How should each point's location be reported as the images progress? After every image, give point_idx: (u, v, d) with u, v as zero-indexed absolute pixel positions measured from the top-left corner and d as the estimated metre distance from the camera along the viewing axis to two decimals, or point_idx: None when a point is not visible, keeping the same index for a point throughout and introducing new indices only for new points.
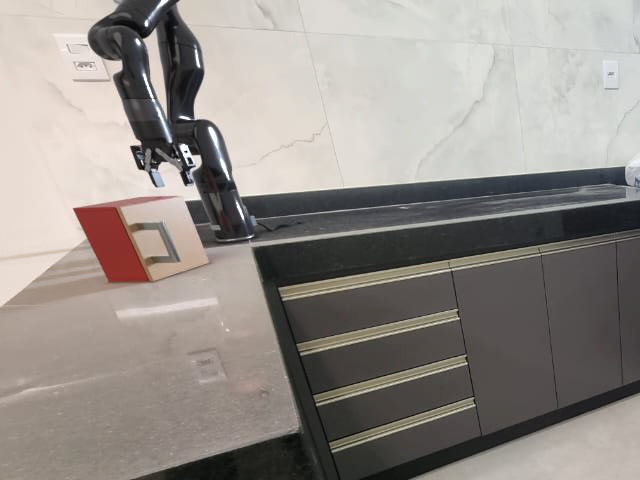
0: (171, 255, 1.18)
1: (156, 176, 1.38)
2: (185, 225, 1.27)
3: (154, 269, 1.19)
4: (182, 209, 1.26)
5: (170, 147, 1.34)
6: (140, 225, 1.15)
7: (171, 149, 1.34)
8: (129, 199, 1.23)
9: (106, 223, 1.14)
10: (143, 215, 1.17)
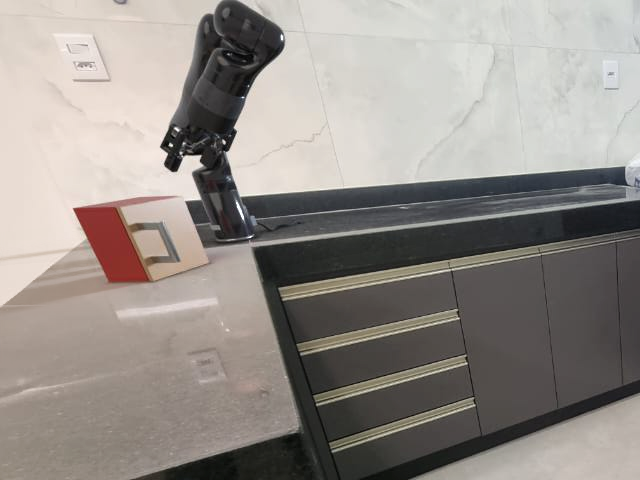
0: (171, 255, 1.18)
1: (208, 155, 1.12)
2: (185, 225, 1.27)
3: (154, 269, 1.19)
4: (182, 209, 1.26)
5: None
6: (140, 225, 1.15)
7: None
8: (129, 199, 1.23)
9: (106, 223, 1.14)
10: (143, 215, 1.17)
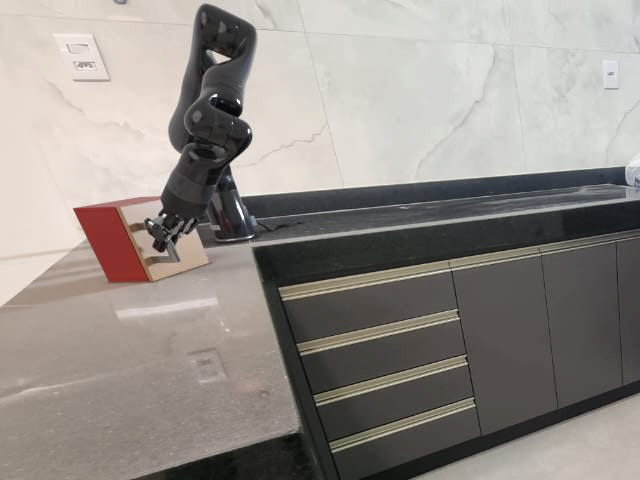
0: (171, 255, 1.18)
1: None
2: None
3: (154, 269, 1.19)
4: None
5: None
6: (140, 225, 1.15)
7: (158, 216, 1.11)
8: (129, 199, 1.23)
9: (106, 223, 1.14)
10: (143, 215, 1.17)
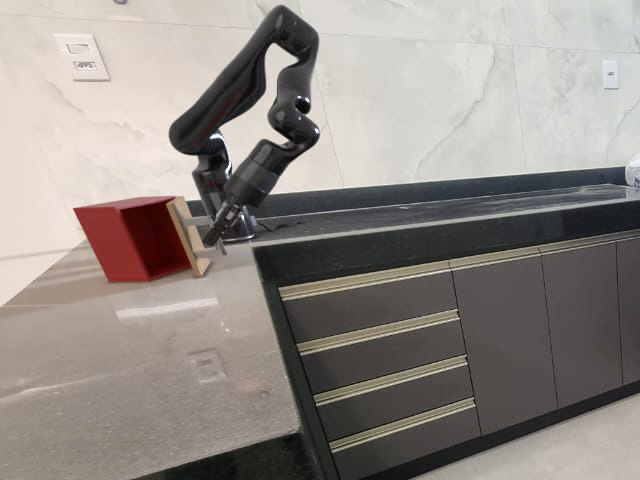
0: (221, 248, 1.23)
1: None
2: None
3: (198, 265, 1.21)
4: (187, 208, 1.26)
5: (231, 205, 1.19)
6: (186, 221, 1.18)
7: (230, 207, 1.19)
8: (129, 199, 1.23)
9: (106, 223, 1.14)
10: (179, 212, 1.19)
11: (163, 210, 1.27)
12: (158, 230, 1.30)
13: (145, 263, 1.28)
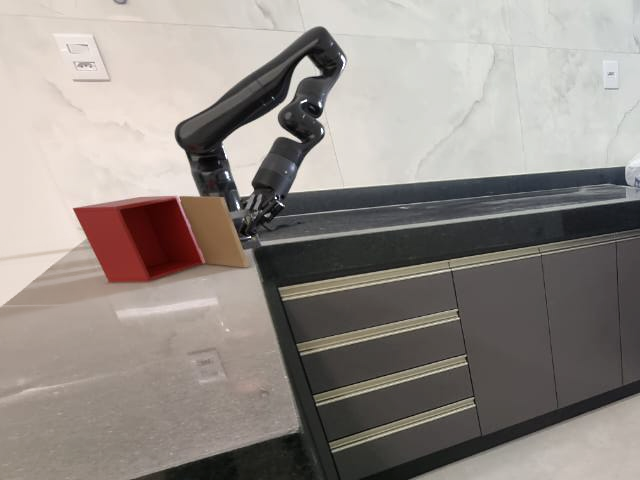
0: (258, 239, 1.30)
1: None
2: None
3: None
4: None
5: (272, 196, 1.30)
6: (230, 214, 1.24)
7: (272, 198, 1.29)
8: (129, 199, 1.23)
9: (106, 223, 1.14)
10: None
11: (163, 210, 1.27)
12: (158, 230, 1.30)
13: (145, 263, 1.28)
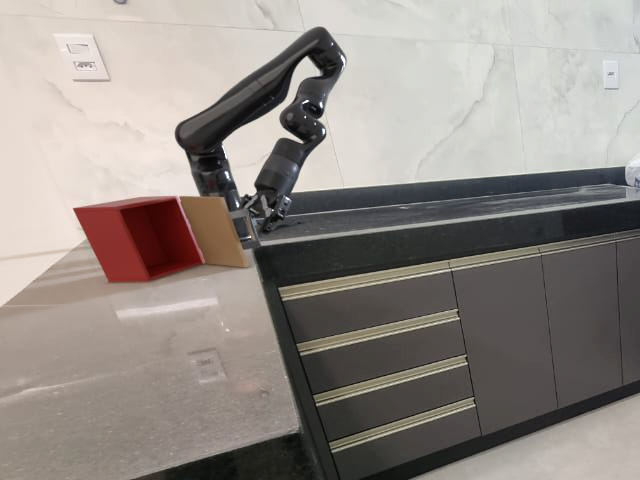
0: (258, 239, 1.30)
1: (244, 222, 1.31)
2: None
3: None
4: None
5: (275, 197, 1.30)
6: (230, 214, 1.24)
7: (274, 199, 1.30)
8: (129, 199, 1.23)
9: (106, 223, 1.14)
10: None
11: (163, 210, 1.27)
12: (158, 230, 1.30)
13: (145, 263, 1.28)
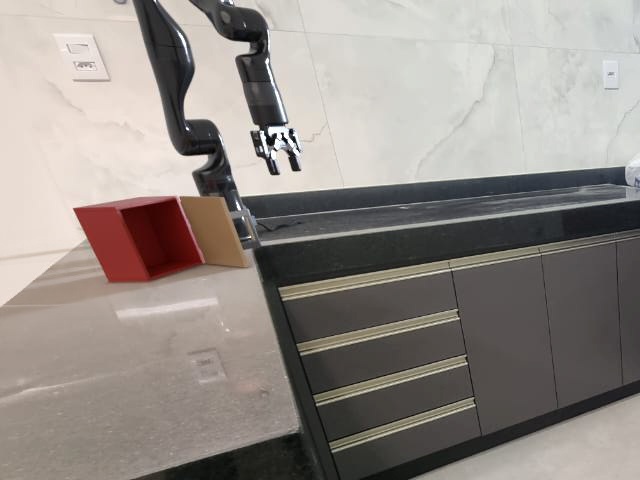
0: (258, 239, 1.30)
1: (292, 160, 1.38)
2: None
3: None
4: None
5: None
6: (230, 214, 1.24)
7: None
8: (129, 199, 1.23)
9: (106, 223, 1.14)
10: None
11: (163, 210, 1.27)
12: (158, 230, 1.30)
13: (145, 263, 1.28)
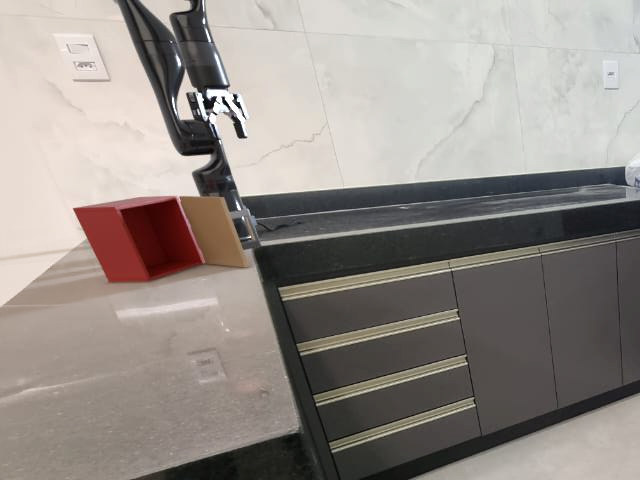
0: (258, 239, 1.30)
1: (237, 127, 1.34)
2: None
3: None
4: None
5: None
6: (230, 214, 1.24)
7: None
8: (129, 199, 1.23)
9: (106, 223, 1.14)
10: None
11: (163, 210, 1.27)
12: (158, 230, 1.30)
13: (145, 263, 1.28)
